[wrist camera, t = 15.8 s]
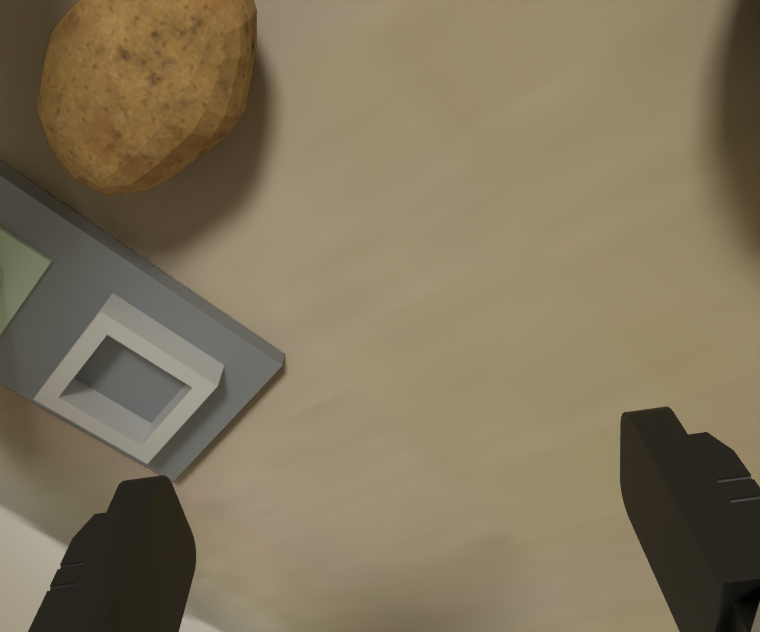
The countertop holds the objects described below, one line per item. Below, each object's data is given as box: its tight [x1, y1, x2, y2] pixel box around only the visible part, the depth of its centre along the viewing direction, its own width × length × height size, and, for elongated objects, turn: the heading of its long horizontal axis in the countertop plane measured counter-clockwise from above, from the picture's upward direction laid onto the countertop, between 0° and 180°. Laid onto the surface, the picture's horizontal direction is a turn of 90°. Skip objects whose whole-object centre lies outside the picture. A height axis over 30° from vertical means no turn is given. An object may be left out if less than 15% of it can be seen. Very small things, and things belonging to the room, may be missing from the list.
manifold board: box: [0, 161, 285, 482], centre depth 46 cm, size 26×14×4 cm, turn 49°
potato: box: [37, 0, 257, 196], centre depth 37 cm, size 10×14×8 cm
